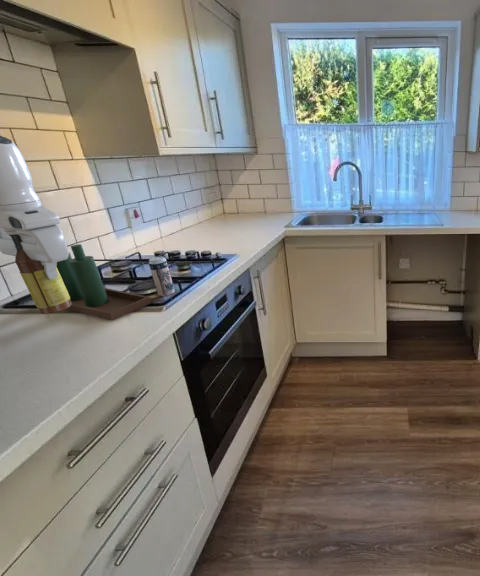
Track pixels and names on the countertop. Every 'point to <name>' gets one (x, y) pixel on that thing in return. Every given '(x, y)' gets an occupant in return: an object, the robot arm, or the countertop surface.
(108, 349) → the countertop surface
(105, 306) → the tray
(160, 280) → the beer can
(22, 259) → the sauce bottle
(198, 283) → the countertop surface
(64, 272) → the green bottle
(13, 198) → the robot arm
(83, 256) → the green bottle
